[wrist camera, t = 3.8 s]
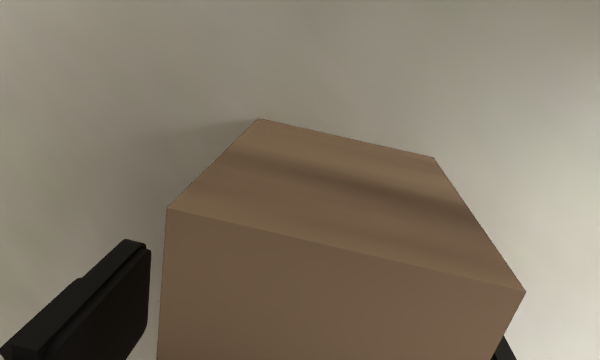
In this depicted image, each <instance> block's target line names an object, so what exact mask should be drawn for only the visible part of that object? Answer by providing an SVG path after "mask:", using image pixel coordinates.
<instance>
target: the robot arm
mask: <svg viewBox="0 0 600 360" xmlns="http://www.w3.org/2000/svg"><path fill="white" fill-rule="evenodd" d="M150 267H151V251H150V250H148V249H146V245H145V244H144V243H141V242H136V241H132V240H128V239H124V240H123V241H121V242H120V243H119V244H118V245H117V246H116V247H115V248H114V249H113V250H112V251H111V252H109V253H108V254H107V255H106V256H105V257H104V258H103V259H102V260H101V261H100V262H99V263H98V264H96V265H95V266H94V267H93V268H92V269H91V270H90V271H89V272H88V273H87V274H86V275H85V276H84V277H82V278H78V279H76V280H75V281H73V282H72V283H71V284H70V285H69V286H68V287H67V288H65V289H64V290H63V291H62V292H61V293H60V294H59V295H58V296H57V297H56V298H54V299H53V300H52V301H51V302H50V303H49V304H48V305H47V306H46V307H45V308H43V309H42V310H41V311H40V312H39V313H38V314H37V315H36V316H35V317H34V318H33V319H31V320H30V321H29V322H28V323H27V324H26V325H25V326H24V327H23V328H22V329H20V330H19V331H18V332H17V333H16V334H15V335H14V336H13V337H12V338H11V339H9V340H8V341H7V342H6V343H5V344H4V345H3V346H2V347H1V348H0V360H126V359H127V357H128V356H129V354H130V353H131V351H132V350H133V348H134V347H135V345H136V344H137V342H138V341H139V339H140V338H141V336H142V335H143V333H144V331H145V329H146V326H147V320H148V303H149V285H150ZM491 360H516V358H515V356H514V354H513V352H512V350H511V348H510V346H509V344H508V343H507V341H506V339H505V337H504V335H503V337H502V339H501V341H500V343H499V344H498V346H497V348H496V350H495V352H494V354H493V356H492V358H491Z"/></svg>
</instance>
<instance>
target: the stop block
mask: <svg viewBox="0 0 600 360" xmlns="http://www.w3.org/2000/svg"><path fill="white" fill-rule="evenodd" d="M525 293H526V291H525V289H524V288H523V286H522V285H521V283H520V282H519V280H518V279H517V278H516V276H515V275H514V273H513V272H512V270H511V269H510V267H509V266H508V265H507V263H506V262H505V260H504V259H503V257H502V256H501V254H500V253H499V252H498V250H497V249H496V247H495V246H494V244H493V243H492V241H491V240H490V239H489V237H488V236H487V234H486V233H485V231H484V230H483V228H482V227H481V226H480V224H479V223H478V221H477V220H476V218H475V217H474V215H473V214H472V213H471V211H470V210H469V208H468V207H467V205H466V204H465V202H464V201H463V200H462V198H461V197H460V195H459V194H458V192H457V191H456V189H455V188H454V187H453V185H452V184H451V182H450V181H449V179H448V178H447V176H446V175H445V174H444V172H443V171H442V169H441V168H440V166H439V165H438V163H437V162H436V161H435V159H434V158H433V157H429V156H425V155H420V154H416V153H411V152H407V151H402V150H398V149H393V148H389V147H384V146H380V145H375V144H371V143H366V142H362V141H358V140H353V139H349V138H344V137H340V136H335V135H331V134H326V133H322V132H317V131H313V130H308V129H304V128H299V127H295V126H291V125H286V124H282V123H277V122H273V121H268V120H264V119H259V118H258V119H257V120H256V121H255V122H254V123H253V124H252V125H251V126H250V127H249V128H248V129H247V130H246V131H245V132H244V133H243V134H242V135H241V136H240V137H239V138H238V139H237V140H236V141H235V142H234V143H233V144H232V145H231V146H230V147H229V148H228V149H227V150H226V151H225V152H224V153H222V154H221V155H220V156H219V157H218V158H217V159H216V160H215V161H214V162H213V163H212V164H211V165H210V166H209V167H208V168H207V169H206V170H205V171H204V172H203V173H202V174H201V175H200V176H199V177H198V178H197V179H196V180H195V181H194V182H193V183H192V184H191V185H190V186H189V187H188V188H187V189H186V190H185V191H184V192H182V193H181V194H180V195H179V196H178V197H177V198H176V199H175V200H174V201H173V202H172V203H171V204H170V205H169V206H168V207H167V213H166V227H165V242H164V256H163V271H162V285H161V300H160V314H159V328H158V343H157V357H156V360H491V358H492V356H493V354H494V352H495V350H496V348H497V346H498V344H499V343H500V341H501V339H502V337H503V335H504V333H505V331H506V329H507V327H508V326H509V324H510V322H511V320H512V318H513V316H514V314H515V312H516V310H517V309H518V307H519V305H520V303H521V301H522V299H523V297H524V295H525Z"/></svg>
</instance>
